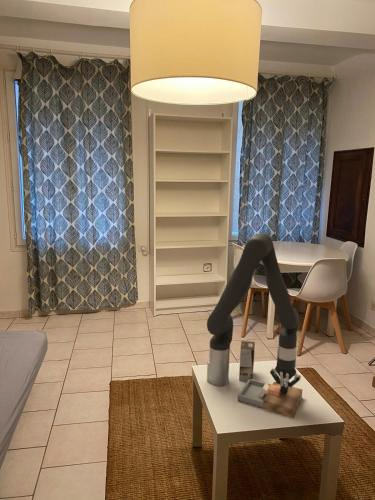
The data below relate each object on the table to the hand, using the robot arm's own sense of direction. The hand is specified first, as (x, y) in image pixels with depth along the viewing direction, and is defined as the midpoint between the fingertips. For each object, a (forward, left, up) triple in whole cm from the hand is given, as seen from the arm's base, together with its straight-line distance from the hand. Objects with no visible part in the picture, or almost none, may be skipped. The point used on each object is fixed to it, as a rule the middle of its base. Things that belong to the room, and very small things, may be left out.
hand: (284, 393), depth 162 cm
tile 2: (-4, 0, -1) cm, 4 cm away
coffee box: (-21, +13, -5) cm, 25 cm away
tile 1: (-8, 0, -2) cm, 8 cm away
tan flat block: (0, 0, -5) cm, 5 cm away
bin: (-12, -1, -5) cm, 13 cm away
